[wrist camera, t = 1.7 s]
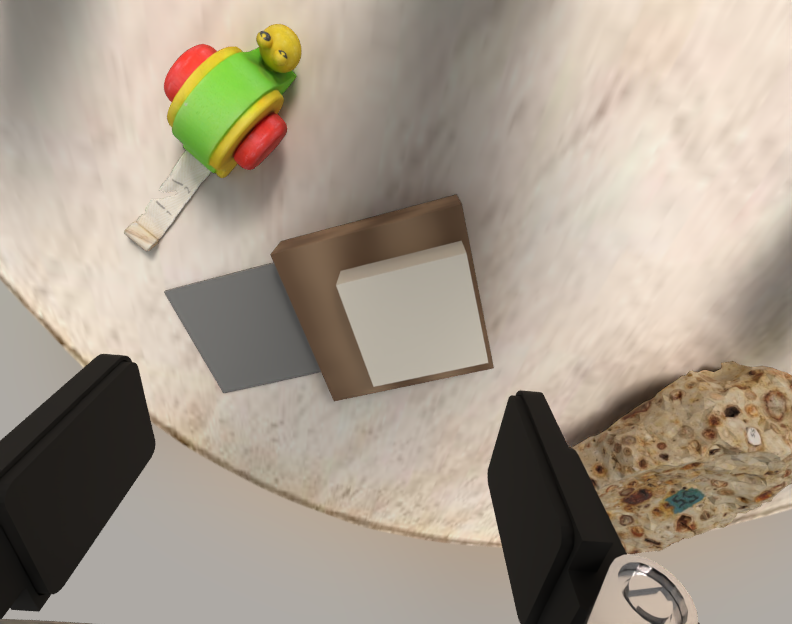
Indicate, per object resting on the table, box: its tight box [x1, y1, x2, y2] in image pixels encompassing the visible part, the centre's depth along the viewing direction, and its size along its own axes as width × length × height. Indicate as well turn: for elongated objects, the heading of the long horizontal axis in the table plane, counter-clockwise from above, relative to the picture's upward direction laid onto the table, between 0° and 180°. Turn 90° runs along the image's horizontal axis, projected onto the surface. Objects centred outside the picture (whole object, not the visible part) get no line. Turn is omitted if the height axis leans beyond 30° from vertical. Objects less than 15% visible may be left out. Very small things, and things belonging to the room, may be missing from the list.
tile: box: [336, 241, 488, 387], centre depth 31 cm, size 9×9×2 cm
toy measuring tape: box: [124, 24, 301, 251], centre depth 27 cm, size 6×19×7 cm, turn 133°
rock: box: [571, 361, 792, 554], centre depth 36 cm, size 21×14×10 cm
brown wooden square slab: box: [271, 195, 494, 401], centre depth 34 cm, size 14×14×3 cm
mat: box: [164, 262, 321, 393], centre depth 37 cm, size 11×11×1 cm
